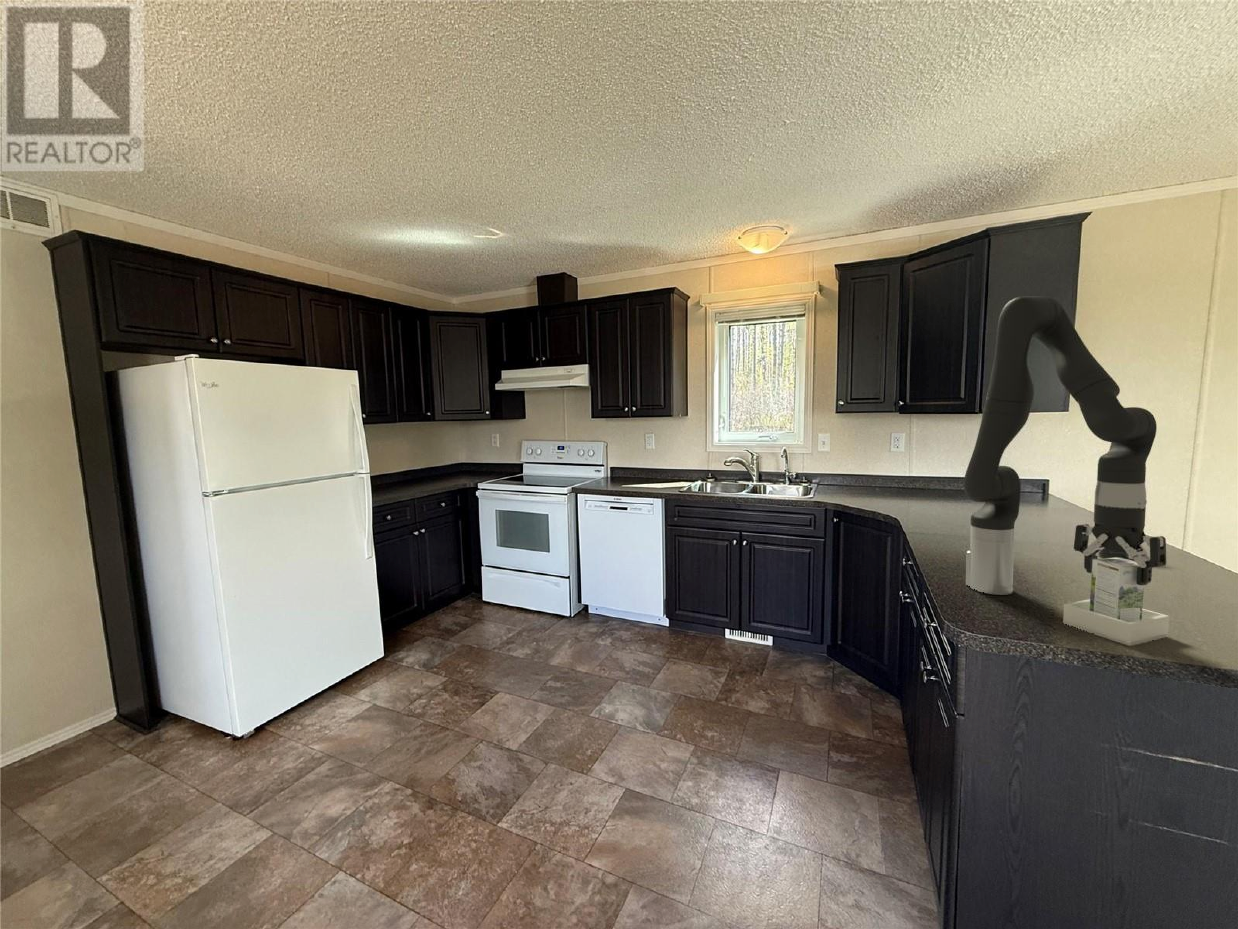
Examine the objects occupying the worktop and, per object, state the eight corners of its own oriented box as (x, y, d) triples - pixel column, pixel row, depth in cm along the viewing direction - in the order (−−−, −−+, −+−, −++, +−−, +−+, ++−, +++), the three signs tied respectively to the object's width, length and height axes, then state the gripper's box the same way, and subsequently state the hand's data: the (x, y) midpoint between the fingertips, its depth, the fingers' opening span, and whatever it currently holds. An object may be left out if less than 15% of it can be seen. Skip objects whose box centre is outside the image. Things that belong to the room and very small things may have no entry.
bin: (1063, 623, 108) (1063, 604, 108) (1099, 616, 111) (1100, 597, 111) (1129, 646, 97) (1131, 624, 97) (1167, 637, 100) (1169, 615, 100)
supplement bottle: (1133, 559, 150) (1135, 520, 149) (1121, 562, 148) (1123, 523, 147) (1105, 553, 156) (1106, 517, 155) (1092, 556, 154) (1094, 519, 153)
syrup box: (1112, 620, 107) (1115, 556, 106) (1142, 631, 101) (1146, 563, 100) (1088, 622, 107) (1090, 557, 105) (1117, 633, 101) (1120, 565, 100)
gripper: (1067, 499, 108) (1064, 571, 109) (1152, 510, 94) (1148, 591, 95) (1091, 497, 110) (1088, 567, 111) (1177, 506, 96) (1173, 586, 97)
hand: (1116, 578), depth 103 cm, fingers open, 8 cm apart
